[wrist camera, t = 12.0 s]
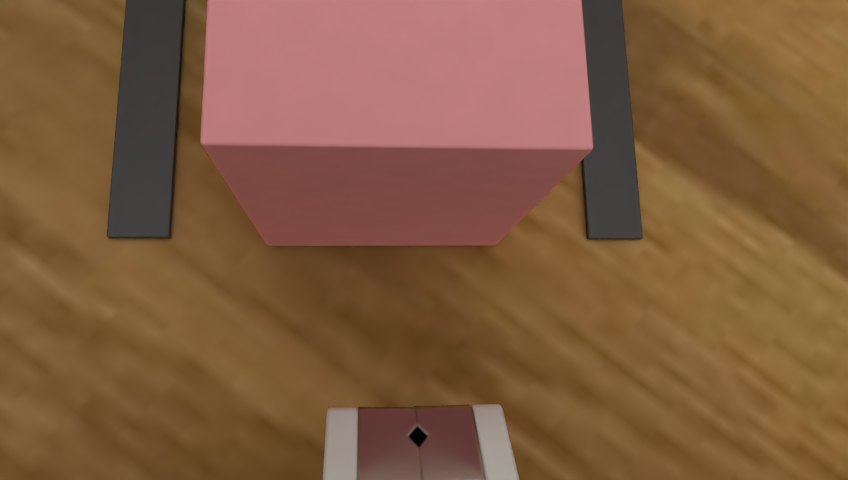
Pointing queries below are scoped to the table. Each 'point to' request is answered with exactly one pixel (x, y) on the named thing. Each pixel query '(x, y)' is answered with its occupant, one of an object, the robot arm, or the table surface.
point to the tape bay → (158, 112)
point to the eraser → (393, 115)
